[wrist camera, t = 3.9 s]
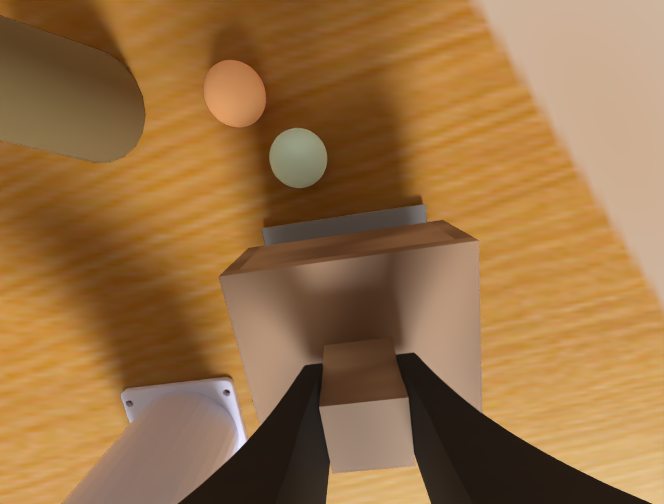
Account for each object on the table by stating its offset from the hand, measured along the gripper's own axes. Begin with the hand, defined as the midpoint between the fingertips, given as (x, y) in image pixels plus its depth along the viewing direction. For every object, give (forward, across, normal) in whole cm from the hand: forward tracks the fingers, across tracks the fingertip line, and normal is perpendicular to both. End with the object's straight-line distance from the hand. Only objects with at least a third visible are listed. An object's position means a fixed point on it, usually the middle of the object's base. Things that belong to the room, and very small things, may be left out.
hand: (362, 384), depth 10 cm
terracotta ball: (+9, +4, -12) cm, 15 cm away
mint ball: (+9, +2, -8) cm, 12 cm away
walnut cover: (+5, 0, 0) cm, 5 cm away
